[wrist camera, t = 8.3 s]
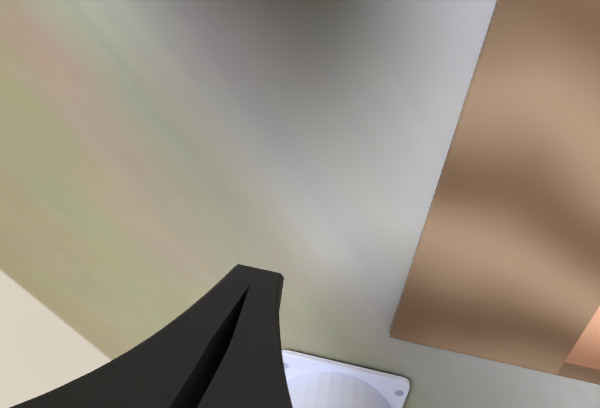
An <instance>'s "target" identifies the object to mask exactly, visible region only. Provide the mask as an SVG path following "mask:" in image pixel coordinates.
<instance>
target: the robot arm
mask: <svg viewBox="0 0 600 408" xmlns="http://www.w3.org/2000/svg"><path fill="white" fill-rule="evenodd" d="M283 280H284V277H283V276H282V275H281V273H276V272H272V271H267V270H263V269H258V268H253V267H249V266H244V265H240V264H238V265H237V266H235V267H234V268H233V269H232V270H231V271H230V272H229V273H228V274H227V275H226V276H225V277H224V278H223V279H222V280H221V281H219V282H218V283H217V284H216V285H215V286H214V287H213V288H212V289H211V290H210V291H209V292H208V293H206V294H205V295H204V296H203V297H202V298H200V299H199V300H198V301H197V302H196V303H195V304H193V305H192V306H191V307H190V308H189V309H187V310H186V311H185V312H184V313H182V314H181V315H180V316H178V317H177V318H176V319H174V320H173V321H172V322H171V323H169V324H168V325H167V326H165V327H164V328H163V329H161V330H160V331H158V332H157V333H155V334H154V335H153V336H151V337H150V338H148V339H147V340H145V341H143V342H142V343H140V344H139V345H137V346H136V347H134V348H133V349H131V350H129V351H128V352H126V353H124V354H122V355H121V356H119V357H117V358H115V359H114V360H112V361H110V362H109V363H107V364H105V365H103V366H102V367H100V368H98V369H96V370H94V371H92V372H90V373H88V374H86V375H84V376H82V377H80V378H78V379H75V380H73V381H71V382H69V383H67V384H65V385H63V386H61V387H59V388H57V389H54V390H52V391H50V392H48V393H45V394H43V395H41V396H38V397H36V398H33V399H31V400H28V401H25V402H23V403H21V404H18V405H15V406H13V407H10V408H402V407H403V405H404V402H405V400H406V397H407V395H408V392H409V389H410V382H409V380H408V379H406V378H404V377H401V376H397V375H392V374H388V373H384V372H379V371H375V370H371V369H367V368H362V367H358V366H354V365H350V364H345V363H341V362H337V361H332V360H328V359H324V358H320V357H315V356H311V355H307V354H303V353H298V352H294V351H290V350H282V349H281V340H280V326H279V308H280V301H281V294H282V287H283ZM285 363H286V364H285ZM399 390H401V391H399Z"/></svg>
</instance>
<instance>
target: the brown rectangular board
mask: <svg viewBox="0 0 600 408" xmlns="http://www.w3.org/2000/svg"><path fill="white" fill-rule="evenodd" d="M390 337H392V338H396V339H401V340H405V341H409V342H414V343H418V344H423V345H427V346H432V347H436V348H440V349H445V350H449V351H454V352H458V353H462V354H467V355H471V356H476V357H480V358H485V359H489V360H493V361H498V362H502V363H507V364H511V365H515V366H520V367H524V368H529V369H533V370H538V371H542V372H546V373H551V374H555V375H560V376H564V377H568V378H573V379H577V380H582V381H586V382H590V383H595V384H599V385H600V0H497V3H496V6H495V9H494V12H493V15H492V18H491V21H490V24H489V27H488V30H487V34H486V37H485V40H484V43H483V46H482V49H481V52H480V55H479V58H478V61H477V64H476V67H475V71H474V74H473V77H472V80H471V83H470V86H469V89H468V92H467V95H466V98H465V101H464V104H463V108H462V111H461V114H460V117H459V120H458V123H457V126H456V129H455V132H454V135H453V138H452V141H451V144H450V148H449V151H448V154H447V157H446V160H445V163H444V166H443V169H442V172H441V175H440V178H439V181H438V185H437V188H436V191H435V194H434V197H433V200H432V203H431V206H430V209H429V212H428V215H427V218H426V222H425V225H424V228H423V231H422V234H421V237H420V240H419V243H418V246H417V249H416V252H415V255H414V259H413V262H412V265H411V268H410V271H409V274H408V277H407V280H406V283H405V286H404V289H403V292H402V295H401V299H400V302H399V305H398V308H397V311H396V314H395V317H394V320H393V323H392V326H391V329H390Z"/></svg>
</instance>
